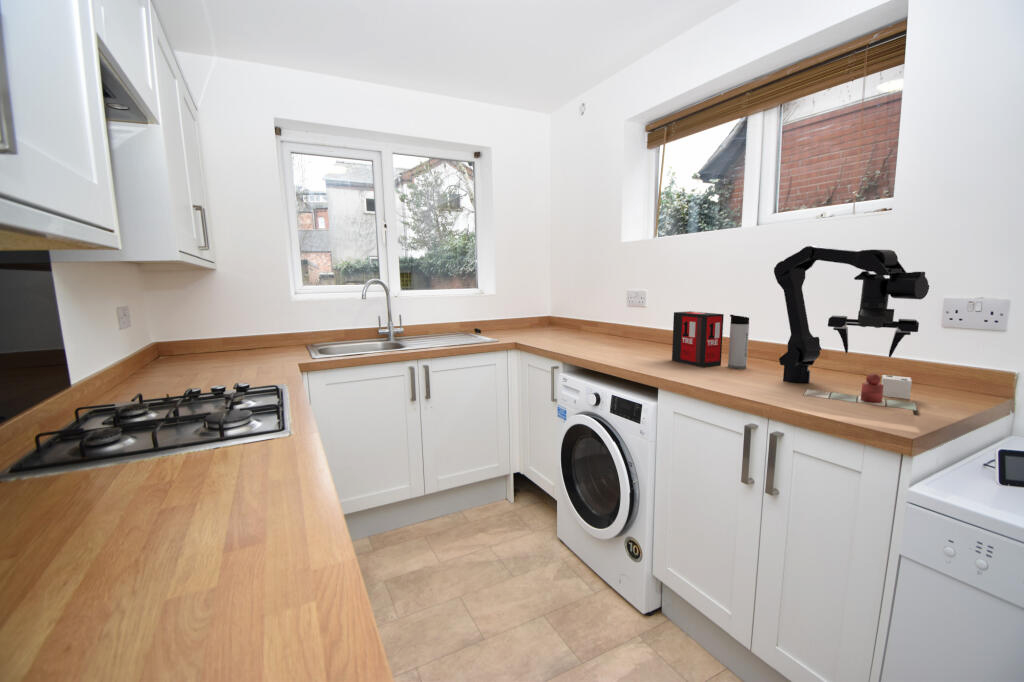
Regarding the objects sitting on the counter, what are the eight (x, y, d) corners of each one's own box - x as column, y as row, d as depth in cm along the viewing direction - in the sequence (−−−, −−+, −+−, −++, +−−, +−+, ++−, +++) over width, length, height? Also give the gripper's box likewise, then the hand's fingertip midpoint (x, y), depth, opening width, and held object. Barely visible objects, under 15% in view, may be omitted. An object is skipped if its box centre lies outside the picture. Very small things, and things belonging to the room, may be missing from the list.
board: (802, 399, 125) (802, 395, 124) (806, 392, 131) (806, 388, 131) (917, 414, 109) (917, 410, 109) (915, 406, 116) (915, 402, 116)
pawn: (860, 401, 118) (863, 374, 117) (860, 397, 121) (863, 371, 120) (881, 403, 115) (884, 376, 114) (881, 400, 119) (884, 373, 118)
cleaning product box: (720, 365, 172) (723, 314, 169) (703, 367, 168) (706, 315, 165) (688, 358, 187) (690, 311, 184) (671, 360, 183) (673, 312, 180)
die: (880, 399, 123) (882, 378, 123) (880, 395, 128) (882, 374, 127) (909, 403, 120) (911, 381, 119) (908, 398, 124) (910, 377, 123)
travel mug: (724, 365, 172) (727, 314, 169) (742, 365, 171) (746, 314, 168) (730, 369, 166) (733, 315, 163) (749, 369, 165) (752, 315, 162)
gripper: (828, 297, 118) (822, 355, 121) (923, 300, 106) (914, 364, 109) (832, 295, 127) (827, 349, 129) (921, 298, 115) (913, 357, 117)
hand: (867, 354), depth 121 cm, fingers open, 9 cm apart
